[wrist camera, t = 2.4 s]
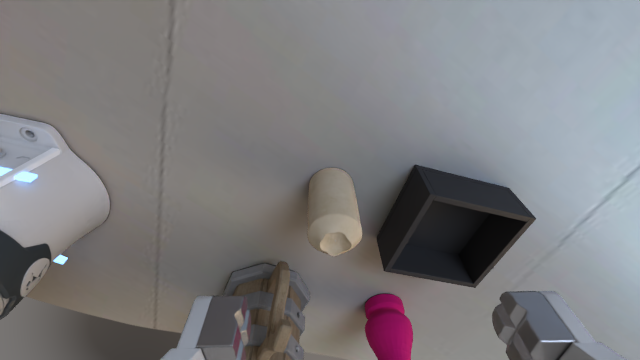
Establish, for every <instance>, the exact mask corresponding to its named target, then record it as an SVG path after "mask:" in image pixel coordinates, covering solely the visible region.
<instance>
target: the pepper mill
mask: <svg viewBox="0 0 640 360" xmlns="http://www.w3.org/2000/svg"><path fill="white" fill-rule="evenodd" d="M365 312H366V317H367V319H368V321H367V323H366V325H365V333H366V337H367V340H368V342H369V345H370V347H371V348H372V350H373V351H374V353H375V355H376V357H377V358H378V360H411V348H412V342H413V331H412V325H411V322H410V320H409V319H408V318H407V317H406V316H405V315H404V307H403V304H402V301H401V299H400V298H399V297H397V296H395V295H392V294H379V295H376V296H373V297H371V298H370V299H369V300H368V301H367V302H366V304H365Z"/></svg>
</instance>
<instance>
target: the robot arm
mask: <svg viewBox="0 0 640 360" xmlns="http://www.w3.org/2000/svg"><path fill="white" fill-rule="evenodd" d="M31 131H32V132H33V133H34V134H33V133H32V132H31ZM109 211H110V200H109V196H108V193H107V190H106V188H105V186H104V184H103V183H102V181H101V180H100V178H99V177H98V176H97V174H96V173H95V172H94V171H93V170H92V169H91V168H90V167H89V166H88V165H87V164H86V163H85V162H83V161H82V160H81V159H80V158H79V157H77V156H76V155H75V154H74V153H73V152H72V151H71V150H70V149H69V147H68V145H67V144H66V142H65V141H64V139H63V138H62V136H61V135H60V134H59V132H58V131H57V130H56V129H55V128H54V127H52V126H51V125H49V124H46V123H42V122H38V121H33V120H28V119H23V118H19V117H14V116H9V115H4V114H0V319H2V318H4V317H5V316H7V315H8V314H9V312H10V311H11V310H12V309H13V308H14V307H15V306H16V305H17V304H18V303H19V302H20V301H21V300H22V299H23V298H24V297H25V296H26V295H27V294H28V293H29V292H30V291H31V290H32V289H33V288H34V287H35V286H36V284H37V283H38V282H39V281H40V280H41V278H42V277H43V276H44V274H45V273H46V271H47V270H48V268H49V267H50V264H51V263H52V262H53V261H54V262H57V263H60V264H62V265H63V264H64V262H65V261H66V260H67V259H68V258H67V257H64V256H62V255H60V254H62V253H63V252H64V251H65V250H66V249H67V248H68V247H70V246H71V245H72V244H73V243H75V242H76V241H77V240H78V239H80V238H81V237H83V236H84V235H85V234H87V233H88V232H90V231H92V230H93V229H95V228H97V227H98V226H100V225H101V224H102V223H103V222H104V221H105V220H106V218H107V217H108V214H109ZM500 301H501V304H500V305H498V306H496V307H495V309H494V311H493V313H492V321H493V326H494V329H495V331H496V333H497V336H498V338H499V339H501V340H502V341H503V342H504V343H506V344H507V348H506V354H507V356H508V358H509V359H510V360H627V359H625V358H624V357H622V356H621V355H619V354H618V353H616V352H615V351H614V350H612V349H611V348H609V347H608V346H606V345H605V344H603V343H602V342H596V341H595V340H594V339H593V337H592V336H591V335H590V333H589V332H588V331H587V330H586V328H585V327H584V326H583V324H582V323H581V322H580V320H579V319H578V318H577V316H576V315H575V314H574V313H573V311H572V310H571V309H570V307H569V306H568V305H567V303H566V302H565V301H564V300H563V298H562V297H561V296H560V295H559V294H558V293H557V292H555V291H517V292H505V293H503V294H502V295H501V297H500ZM247 306H248V300H247V296H197V298H196V299H195V300H194V302H193V305H192V308H191V310H190V313H189V316H188V318H187V321H186V324H185V326H184V329H183V332H182V334H181V337H180V340H179V342H178V345H177V348H174V349H173V348H171V349H170V350H169V351H168V352H167V353H166V354H165V355H164V356H163V357H162V358H161V359H160V360H246V352H245V348H244V347H245V346H246V344H247V343H248V342H249V339H250V333H251V313H250V310H248V309H247Z"/></svg>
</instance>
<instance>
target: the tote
mask: <svg viewBox="0 0 640 360" xmlns="http://www.w3.org/2000/svg"><path fill="white" fill-rule="evenodd" d="M535 220H536V218H535V217H534V216H533V215H532V213H531V212H530V211H529V210H528V209H527V208H526V207H525V206H524V204H523V203H522V202H521V201H520V200H519V199H518V198H517V196H516V195H515V194H514V193H513V192H512V191H511V190H510V189H509V188H507V187H503V186H499V185H495V184H490V183H486V182H482V181H478V180H474V179H470V178H466V177H462V176H458V175H454V174H450V173H446V172H442V171H438V170H434V169H430V168H426V167H422V166H418V165H415V166H414V168H413V170H412V172H411V174H410V176H409V177H408V179H407V181H406V183H405V185H404V187H403V189H402V191H401V193H400V194H399V196H398V198H397V200H396V202H395V204H394V206H393V208H392V209H391V211H390V213H389V215H388V217H387V219H386V221H385V223H384V225H383V226H382V228H381V230H380V232H379V234H378V236H377V243H378V247H379V251H380V256H381V260H382V264H383V269H384V271H386V272H392V273H397V274H403V275H408V276H414V277H419V278H424V279H430V280H435V281H441V282H446V283H452V284H457V285H463V286H468V287H474V288H475V287H476V286H477V285H478V284H479V283H480V282H481V281H482V279H483V278H484V277H485V276H486V275H487V274H488V273H489V272H490V270H491V269H492V268H493V267H494V266H495V265H496V264H497V262H498V261H499V260H500V259H501V258H502V257H503V256H504V255H505V253H506V252H507V251H508V250H509V249H510V248H511V247H512V246H513V244H514V243H515V242H516V241H517V240H518V239H519V238H520V236H521V235H522V234H523V233H524V232H525V231H526V230H527V229H528V227H529V226H530V225H531V224H532V223H533V222H534V221H535Z"/></svg>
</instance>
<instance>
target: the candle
mask: <svg viewBox="0 0 640 360" xmlns="http://www.w3.org/2000/svg"><path fill="white" fill-rule="evenodd" d="M307 236H308V240H309V242H310V244H311V245H312V246H313V247H314V248H315V249H317V250H319V251H321V252H323V253H326V254H329V255H330V256H333V257H335V256H337V255H339V254H342V253H345V252H347V251H349V250H351V249H353V248H354V247H355V246H356V245H357V244H358V243H359V242H360V240H361V238H362V228H361V222H360V217H359V211H358V206H357V200H356V195H355V189H354V184H353V181H352V179H351V177H350V175H349V174H348V173H346V172H345V171H343V170H341V169H338V168H325V169H322V170H320V171H318V172H317V173H315V174H314V175H313V177H312V178H311V180H310V183H309V194H308V231H307Z"/></svg>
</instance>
